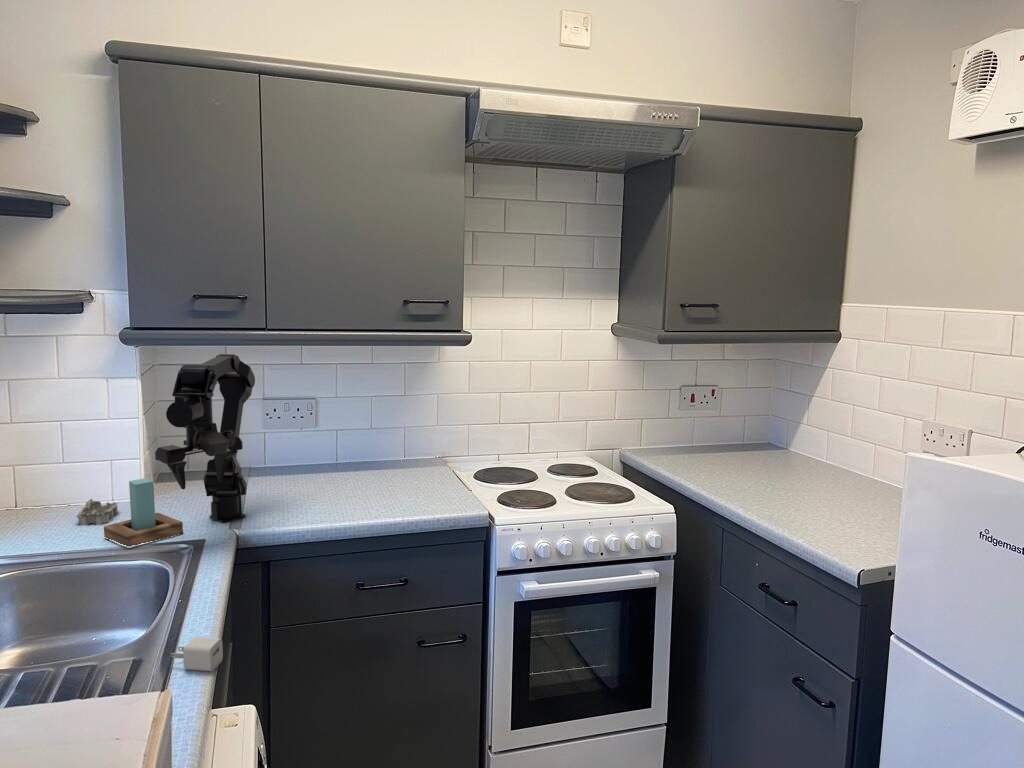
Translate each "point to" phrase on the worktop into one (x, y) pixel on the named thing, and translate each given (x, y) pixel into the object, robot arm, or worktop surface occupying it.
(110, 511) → the miniature castle
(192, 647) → the usb wall charger
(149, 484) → the teal post
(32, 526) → the worktop surface
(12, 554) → the worktop surface
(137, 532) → the walnut box
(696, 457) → the worktop surface
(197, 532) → the worktop surface
